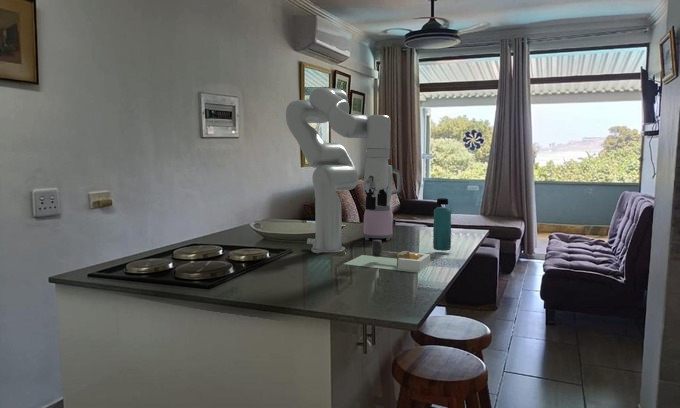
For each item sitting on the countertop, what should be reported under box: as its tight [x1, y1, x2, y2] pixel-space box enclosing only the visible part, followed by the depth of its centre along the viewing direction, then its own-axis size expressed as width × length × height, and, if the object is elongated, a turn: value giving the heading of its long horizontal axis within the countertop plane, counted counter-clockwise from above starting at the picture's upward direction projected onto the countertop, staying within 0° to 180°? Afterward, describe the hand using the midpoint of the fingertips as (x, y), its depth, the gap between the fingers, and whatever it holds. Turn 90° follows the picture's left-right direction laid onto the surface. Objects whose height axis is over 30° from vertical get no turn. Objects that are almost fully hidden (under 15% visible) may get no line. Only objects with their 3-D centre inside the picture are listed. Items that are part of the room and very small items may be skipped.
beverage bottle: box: [432, 197, 452, 252], centre depth 182 cm, size 6×7×20 cm
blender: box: [363, 164, 402, 242], centre depth 209 cm, size 16×12×32 cm
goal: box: [398, 251, 431, 272], centre depth 158 cm, size 7×11×3 cm, turn 154°
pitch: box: [343, 254, 434, 274], centre depth 162 cm, size 25×15×1 cm, turn 64°
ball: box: [408, 252, 420, 260], centre depth 158 cm, size 4×4×4 cm
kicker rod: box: [371, 239, 410, 266], centre depth 162 cm, size 12×6×7 cm, turn 64°
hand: (376, 207), depth 162 cm, fingers open, 9 cm apart
